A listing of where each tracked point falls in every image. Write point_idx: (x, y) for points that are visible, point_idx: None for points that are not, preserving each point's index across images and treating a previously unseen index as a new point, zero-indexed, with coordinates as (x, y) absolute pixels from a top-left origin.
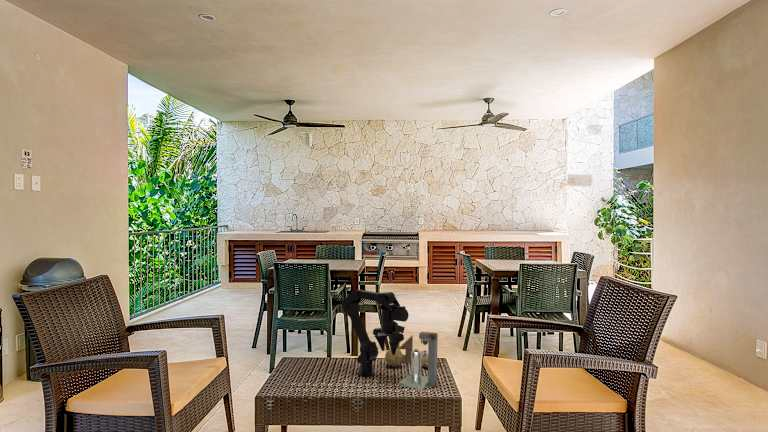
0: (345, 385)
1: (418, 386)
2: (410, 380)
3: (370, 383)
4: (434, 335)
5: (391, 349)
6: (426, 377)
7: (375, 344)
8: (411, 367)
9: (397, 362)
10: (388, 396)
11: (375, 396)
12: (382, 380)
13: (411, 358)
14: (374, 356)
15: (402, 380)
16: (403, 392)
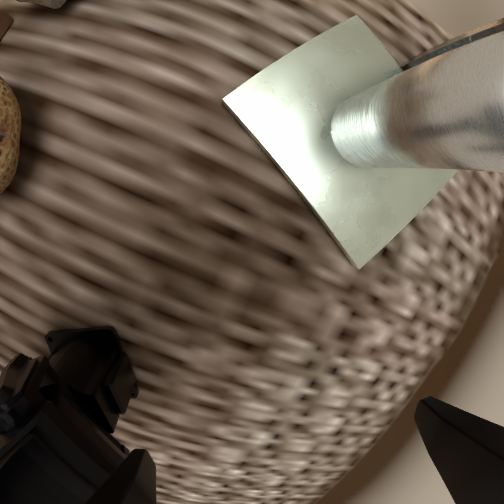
0: (227, 472)
1: (443, 184)
2: (358, 173)
3: (247, 395)
4: None
5: (458, 476)
6: (345, 46)
7: (8, 478)
8: (416, 167)
9: (20, 124)
10: (429, 358)
11: (399, 402)
12: (225, 323)
13: (478, 169)
14: (94, 431)
15: (336, 225)
16: (436, 282)
